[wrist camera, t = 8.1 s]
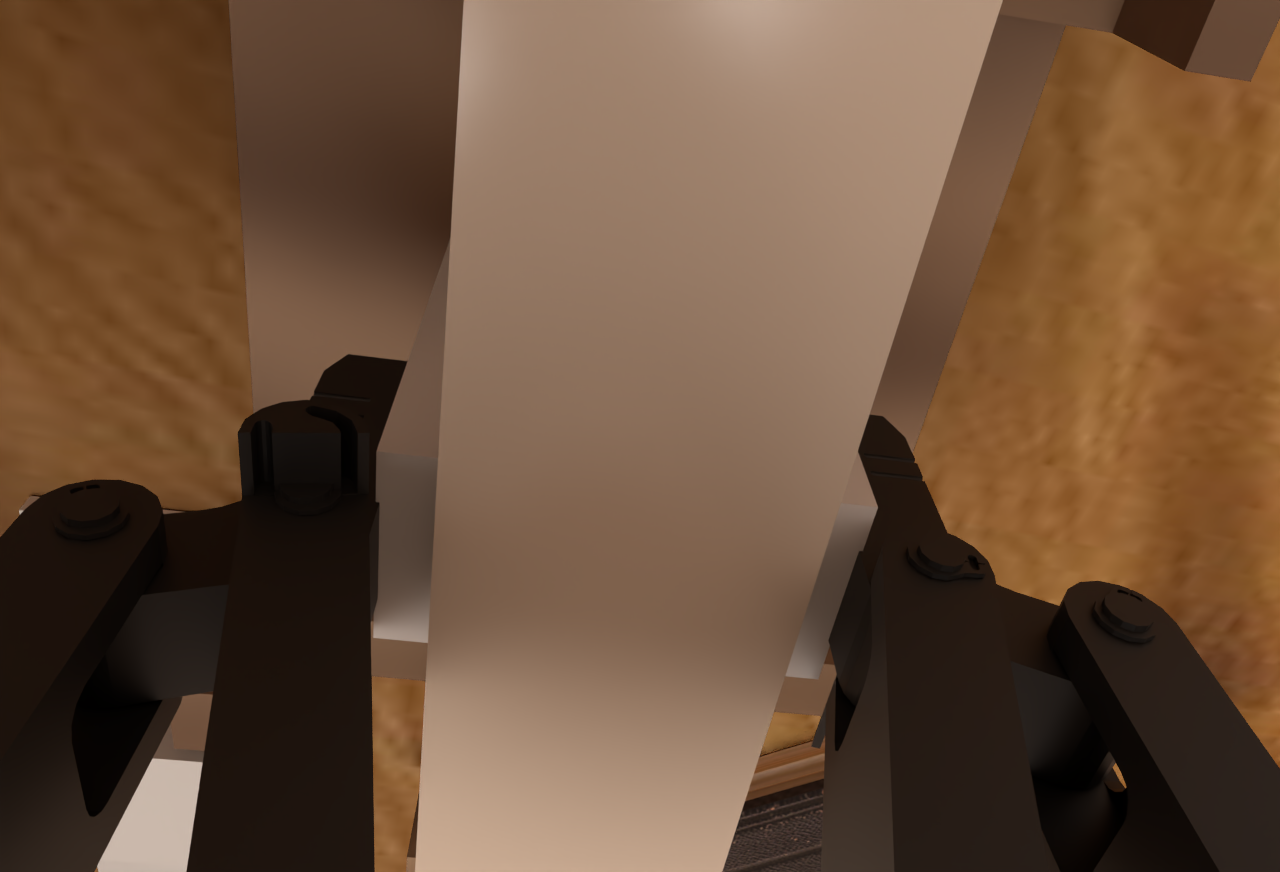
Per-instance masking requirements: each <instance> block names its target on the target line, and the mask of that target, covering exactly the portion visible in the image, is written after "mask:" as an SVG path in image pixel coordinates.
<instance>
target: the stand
mask: <svg viewBox="0 0 1280 872" xmlns="http://www.w3.org/2000/svg"><path fill="white" fill-rule="evenodd" d="M38 498H40V497H37V496H30V497H29V498H28V499H27V501H26V502H25V503H24V504H23V506H22V507H21V508H20V509H19V513H20V514H21V513H22V512H23V511H24V510H25V509H26V508H27V507H28V506H29V505H31V504H32V503H33V502H34V501H36V500H37V499H38ZM179 512H182V511H173V510H163V514H169V513H179ZM203 757H204V751H199V750H186V749H174V744H173V737H172V730H171V724H170V726H169V728H168V730H167V731H166V733H165V735H164V737H163V739H162V741H161V743H160V745H159V747H158V749H157V751H156V753H155V755H154V757H153V759H152V761H151V762H150V764H149V766H148V768H147V770H146V772H145V774H144V776H143V778H142V780H141V782H140V784H139V786H138V788H137V790H136V792H135V794H134V795H133V797H132V799H131V801H130V803H129V805H128V807H127V809H126V811H125V813H124V815H123V817H122V819H121V821H120V823H119V825H118V826H117V828H116V830H115V832H114V834H113V836H112V838H111V840H110V842H109V844H108V846H107V848H106V850H105V852H104V854H103V856H102V857H101V859H100V861H99V863H98V865H97V867H98V872H186V871H187V864H188V857H189V851H190V844H191V837H192V830H193V824H194V817H195V810H196V804H197V797H198V790H199V784H200V777H201V770H202V763H203Z"/></svg>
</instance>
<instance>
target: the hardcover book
mask: <svg viewBox="0 0 1280 872" xmlns="http://www.w3.org/2000/svg"><path fill="white" fill-rule="evenodd" d="M812 742H813V741H810V742H807V743H804V744H800V745H797V746H794V747H790V748H787V749H783V750H780V751H777V752H773V753H770V754H767V755H763V756H760V757H759V759H758V762H757V765H756V768H755V772H754V775H753V778H752V781H751V784H750V787H749V790H748V793H747V796H746V800H745V803H744V806H743V809H742V812H741V815H740V818H739V821H738V824H737V827H736V831H735V834H734V837H733V840H732V843H731V846H730V849H729V852H728V855H727V859H726V862H725V865H724V868H723V871H722V872H821V854H822V823H823V792H824V760H825V737H824V739H823V742H822V745H821V747H820V749H819V748H815V747H811V745H812Z"/></svg>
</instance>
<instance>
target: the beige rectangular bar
mask: <svg viewBox="0 0 1280 872" xmlns="http://www.w3.org/2000/svg"><path fill="white" fill-rule="evenodd" d="M1002 1H1003V0H464V5H463V23H462V41H461V59H460V76H459V94H458V112H457V130H456V148H455V166H454V184H453V202H452V219H451V237H450V255H449V273H448V291H447V309H446V327H445V344H444V362H443V380H442V398H441V416H440V434H439V452H438V470H437V487H436V505H435V523H434V541H433V559H432V577H431V595H430V612H429V630H428V648H427V666H426V684H425V702H424V720H423V738H422V755H421V773H420V791H419V809H418V827H417V845H416V863H415V872H722V871H723V868H724V865H725V862H726V859H727V855H728V852H729V849H730V846H731V843H732V840H733V837H734V834H735V831H736V827H737V824H738V821H739V818H740V815H741V812H742V809H743V806H744V803H745V800H746V796H747V793H748V790H749V787H750V784H751V781H752V778H753V775H754V772H755V768H756V765H757V762H758V759H759V756H760V753H761V750H762V747H763V744H764V741H765V737H766V734H767V731H768V728H769V725H770V722H771V719H772V716H773V713H774V709H775V706H776V703H777V700H778V697H779V694H780V691H781V688H782V685H783V681H784V678H785V675H786V672H787V669H788V666H789V663H790V660H791V657H792V654H793V650H794V647H795V644H796V641H797V638H798V635H799V632H800V629H801V626H802V622H803V619H804V616H805V613H806V610H807V607H808V604H809V601H810V598H811V595H812V591H813V588H814V585H815V582H816V579H817V576H818V573H819V570H820V567H821V563H822V560H823V557H824V554H825V551H826V548H827V545H828V542H829V539H830V536H831V532H832V529H833V526H834V523H835V520H836V517H837V514H838V511H839V508H840V504H841V501H842V498H843V495H844V492H845V489H846V486H847V483H848V480H849V477H850V473H851V470H852V467H853V464H854V461H855V458H856V455H857V452H858V449H859V445H860V442H861V439H862V436H863V433H864V430H865V427H866V424H867V421H868V418H869V414H870V411H871V408H872V405H873V402H874V399H875V396H876V393H877V390H878V386H879V383H880V380H881V377H882V374H883V371H884V368H885V365H886V362H887V358H888V355H889V352H890V349H891V346H892V343H893V340H894V337H895V334H896V331H897V327H898V324H899V321H900V318H901V315H902V312H903V309H904V306H905V303H906V299H907V296H908V293H909V290H910V287H911V284H912V281H913V278H914V275H915V272H916V268H917V265H918V262H919V259H920V256H921V253H922V250H923V247H924V244H925V240H926V237H927V234H928V231H929V228H930V225H931V222H932V219H933V216H934V213H935V209H936V206H937V203H938V200H939V197H940V194H941V191H942V188H943V185H944V181H945V178H946V175H947V172H948V169H949V166H950V163H951V160H952V157H953V154H954V150H955V147H956V144H957V141H958V138H959V135H960V132H961V129H962V126H963V122H964V119H965V116H966V113H967V110H968V107H969V104H970V101H971V98H972V95H973V91H974V88H975V85H976V82H977V79H978V76H979V73H980V70H981V67H982V63H983V60H984V57H985V54H986V51H987V48H988V45H989V42H990V39H991V36H992V32H993V29H994V26H995V23H996V20H997V17H998V14H999V11H1000V8H1001V4H1002Z"/></svg>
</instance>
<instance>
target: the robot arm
mask: <svg viewBox="0 0 1280 872" xmlns="http://www.w3.org/2000/svg"><path fill="white" fill-rule="evenodd" d="M449 255H450V241H449V244H448V246H447V249H446V252H445V255H444V258H443V261H442V264H441V267H440V269H439V272H438V275H437V278H436V281H435V284H434V287H433V290H432V293H431V295H430V298H429V301H428V304H427V307H426V310H425V313H424V316H423V318H422V321H421V324H420V327H419V330H418V333H417V336H416V339H415V342H414V344H413V347H412V350H411V353H410V356H409V359H408V361H402V360H394V359H385V358H377V357H369V356H360V355H352V354H347V355H346V356H345V357H343V358H342V359H340V360H339V361H337V362H336V363H334V364H333V365H331V366H330V367H329V368H327V369H326V370H324V372H323V374H322V376H321V378H320V380H319V382H318V384H317V386H316V388H315V390H314V395H313V396H312V397H311V399H310V400H299V401H287V402H281V403H278V404H274V405H271V406H268V407H265V408H262V409H260V410H258V411H257V412H255V413H254V414H252V415H251V416H249V417H248V418H246V419H245V421H244V422H243V424H242V426H241V428H240V430H239V431H238V442H239V456H240V470H241V484H242V500H241V501H239V502H236V503H233V504H230V505H226V506H223V507H219V508H213V509H207V510H200V511H190V512H179V513H169V514H163V509H162V507H161V504H160V502H159V499H158V497H157V496H156V495H155V494H153V493H152V492H150V491H149V490H148V489H146V488H145V487H143V486H141V485H137V484H133V483H130V482H126V481H122V480H90V481H84V482H79V483H74V484H68V485H65V486H63V487H61V488H58V489H56V490H53V491H51V492H49V493H46V494H44V495H42V496H41V497H40V498H38V499H37V500H36V501H34V502H33V503H32V504H31V505H29V506H28V507H27V508H26V509H25V510H24V511H23V512H22V513H21V514H20V515H19V517H18V518H17V519H16V520H15V521H14V522H13V523H12V525H11V526H10V527H9V528H8V529H7V530H6V532H5V533H4V534H3V535H2V536H1V537H0V872H94V871H95V869H96V867H97V865H98V863H99V861H100V859H101V857H102V856H103V854H104V852H105V850H106V848H107V846H108V844H109V842H110V840H111V838H112V836H113V834H114V832H115V830H116V828H117V826H118V825H119V823H120V821H121V819H122V817H123V815H124V813H125V811H126V809H127V807H128V805H129V803H130V801H131V799H132V797H133V795H134V794H135V792H136V790H137V788H138V786H139V784H140V782H141V780H142V778H143V776H144V774H145V772H146V770H147V768H148V766H149V764H150V762H151V761H152V759H153V757H154V755H155V753H156V751H157V749H158V747H159V745H160V743H161V741H162V739H163V737H164V735H165V733H166V731H167V730H168V728H169V726H170V724H171V722H172V720H173V718H174V716H175V714H176V712H177V710H178V708H179V706H180V704H181V701H182V697H183V696H188V695H194V694H200V693H206V692H213V696H212V703H211V710H210V716H209V723H208V730H207V737H206V743H205V750H204V757H203V763H202V770H201V777H200V784H199V790H198V797H197V804H196V810H195V817H194V824H193V830H192V837H191V844H190V851H189V857H188V864H187V871H186V872H374V807H373V741H372V675H371V621H372V617H373V614H374V628H373V638H380V639H391V640H401V641H412V642H423V643H428V630H429V612H430V595H431V577H432V559H433V541H434V523H435V505H436V487H437V470H438V452H439V434H440V416H441V398H442V380H443V362H444V344H445V327H446V309H447V291H448V273H449ZM914 461H915V458H914V456H913V454H912V451H911V449H910V447H909V445H908V442H907V440H906V438H905V436H903V435H902V434H901V433H900V432H899V431H898V430H897V429H896V428H895V427H894V426H893V425H892V424H891V423H890V422H889V421H888V420H887V419H885V418H884V417H883V416H878V415H869V418H868V421H867V424H866V427H865V430H864V433H863V436H862V439H861V442H860V445H859V449H858V452H857V455H856V458H855V461H854V464H853V467H852V470H851V473H850V477H849V480H848V483H847V486H846V489H845V492H844V495H843V498H842V501H841V504H840V508H839V511H838V514H837V517H836V520H835V523H834V526H833V529H832V532H831V536H830V539H829V542H828V545H827V548H826V551H825V554H824V557H823V560H822V563H821V567H820V570H819V573H818V576H817V579H816V582H815V585H814V588H813V591H812V595H811V598H810V601H809V604H808V607H807V610H806V613H805V616H804V619H803V622H802V626H801V629H800V632H799V635H798V638H797V641H796V644H795V647H794V650H793V654H792V657H791V660H790V663H789V666H788V669H787V672H786V675H785V676H787V677H798V678H808V679H819V676H820V673H821V670H822V667H823V664H824V661H825V659H826V656H827V653H828V650H829V647H830V649H831V653H832V657H833V661H834V665H835V669H836V673H837V675H836V678H835V680H834V683H833V686H832V689H831V691H830V694H829V697H828V700H827V703H826V705H825V708H824V711H823V714H822V716H821V719H820V722H819V725H818V728H817V730H816V733H815V736H814V739H813V742H812V745H811V747H815V748H819V749H820V747H821V745H822V742H823V739H824V737H825V760H824V792H823V823H822V854H821V872H1280V768H1279V767H1278V766H1277V764H1276V763H1275V761H1274V760H1273V759H1272V757H1271V756H1270V754H1269V753H1268V752H1267V750H1266V749H1265V747H1264V746H1263V745H1262V743H1261V742H1260V740H1259V739H1258V737H1257V736H1256V735H1255V733H1254V732H1253V730H1252V729H1251V728H1250V726H1249V725H1248V723H1247V722H1246V721H1245V719H1244V718H1243V716H1242V715H1241V713H1240V712H1239V711H1238V709H1237V708H1236V706H1235V705H1234V704H1233V702H1232V701H1231V699H1230V698H1229V697H1228V695H1227V694H1226V692H1225V691H1224V690H1223V688H1222V687H1221V685H1220V684H1219V682H1218V681H1217V680H1216V678H1215V677H1214V675H1213V674H1212V673H1211V671H1210V670H1209V668H1208V667H1207V666H1206V664H1205V663H1204V661H1203V660H1202V658H1201V657H1200V656H1199V654H1198V653H1197V651H1196V650H1195V649H1194V647H1193V646H1192V644H1191V643H1190V642H1189V640H1188V639H1187V637H1186V636H1185V635H1184V633H1183V632H1182V630H1181V629H1180V627H1179V626H1178V625H1177V623H1176V622H1175V621H1174V620H1173V619H1172V618H1171V617H1170V616H1169V615H1168V614H1167V613H1166V612H1165V611H1164V610H1163V609H1162V608H1161V607H1159V606H1158V605H1156V604H1155V603H1153V602H1152V601H1150V600H1149V599H1147V598H1146V597H1145V596H1143V595H1142V594H1140V593H1137V592H1135V591H1133V590H1129V589H1128V588H1125V587H1122V586H1120V585H1115V584H1110V583H1106V582H1101V581H1090V582H1079V583H1078V584H1076V585H1074V586H1072V587H1071V588H1069V589H1068V590H1067V592H1066V594H1065V596H1064V598H1063V600H1062V602H1061V604H1060V606H1057V605H1054V604H1051V603H1048V602H1045V601H1042V600H1039V599H1036V598H1033V597H1029V596H1026V595H1023V594H1020V593H1017V592H1014V591H1012V590H1009V589H1007V588H1004V587H1002V586H999V585H997V584H996V581H995V575H994V573H993V571H992V569H991V567H990V564H989V562H988V560H987V559H985V558H984V557H983V556H982V555H981V554H980V553H979V552H978V551H977V550H976V549H975V548H974V547H973V546H971V545H970V544H968V543H966V542H965V541H963V540H961V539H959V538H958V537H956V536H954V535H951V534H948V533H947V531H946V529H945V526H944V524H943V522H942V520H941V517H940V515H939V513H938V510H937V508H936V506H935V504H934V501H933V499H932V497H931V495H930V492H929V490H928V488H927V485H926V483H925V481H922V478H923V476H922V474H921V472H920V470H919V467H918V465H917V463H914ZM1115 762H1116V764H1117V766H1118V767H1119V769H1120V771H1121V773H1122V776H1123V778H1124V781H1125V783H1126V787H1127V788H1125V787H1124V786H1123V785H1122V783H1121V782H1120V781H1119V779H1118V777H1117V775H1116V773H1115V771H1114V770H1113V768H1112V767H1113V766H1114V764H1115Z"/></svg>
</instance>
